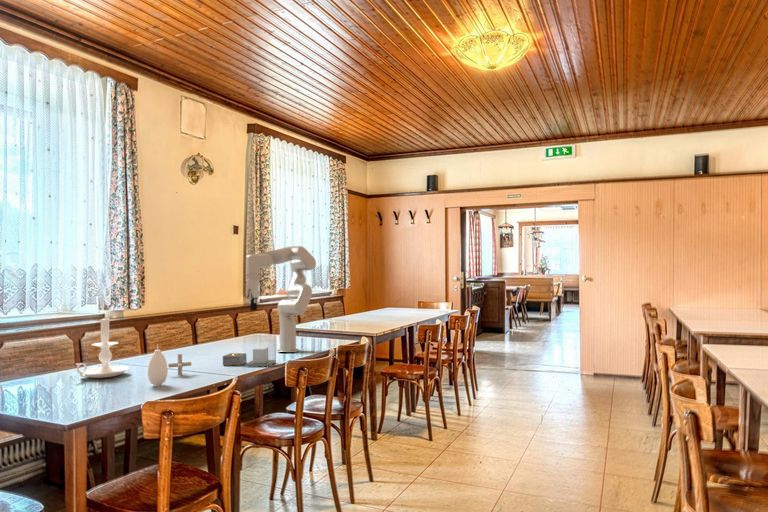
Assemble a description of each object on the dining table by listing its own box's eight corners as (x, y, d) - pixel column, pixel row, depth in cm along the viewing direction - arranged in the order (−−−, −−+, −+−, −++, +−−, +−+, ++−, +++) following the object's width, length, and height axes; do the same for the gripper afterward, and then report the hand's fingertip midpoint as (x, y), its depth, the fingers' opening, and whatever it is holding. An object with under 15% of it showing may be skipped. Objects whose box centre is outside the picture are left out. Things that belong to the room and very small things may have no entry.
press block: (230, 362, 277) (230, 353, 277) (246, 362, 276) (246, 353, 276) (222, 365, 268) (222, 356, 268) (239, 366, 267) (239, 356, 267)
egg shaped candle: (146, 388, 218) (146, 345, 219) (149, 384, 226) (149, 343, 226) (166, 387, 220) (166, 344, 221) (168, 383, 228) (168, 342, 228)
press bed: (254, 362, 276) (254, 359, 276) (275, 362, 274) (275, 360, 274) (245, 367, 264) (245, 364, 264) (267, 367, 263) (267, 364, 263)
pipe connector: (168, 374, 248) (168, 353, 248) (190, 372, 252) (190, 351, 252) (169, 378, 239) (169, 356, 239) (192, 376, 243) (192, 354, 243)
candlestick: (61, 381, 237) (61, 319, 238) (110, 371, 260) (110, 314, 260) (91, 384, 228) (90, 320, 229) (139, 374, 251) (138, 315, 251)
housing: (257, 360, 273) (257, 347, 273) (268, 360, 272) (268, 347, 272) (253, 362, 267) (252, 349, 267) (264, 363, 266) (264, 349, 266)
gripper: (252, 276, 293) (252, 309, 293) (241, 277, 279) (241, 311, 278) (264, 276, 292) (265, 309, 292) (254, 277, 278) (255, 311, 277)
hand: (253, 310), depth 285 cm, fingers closed
